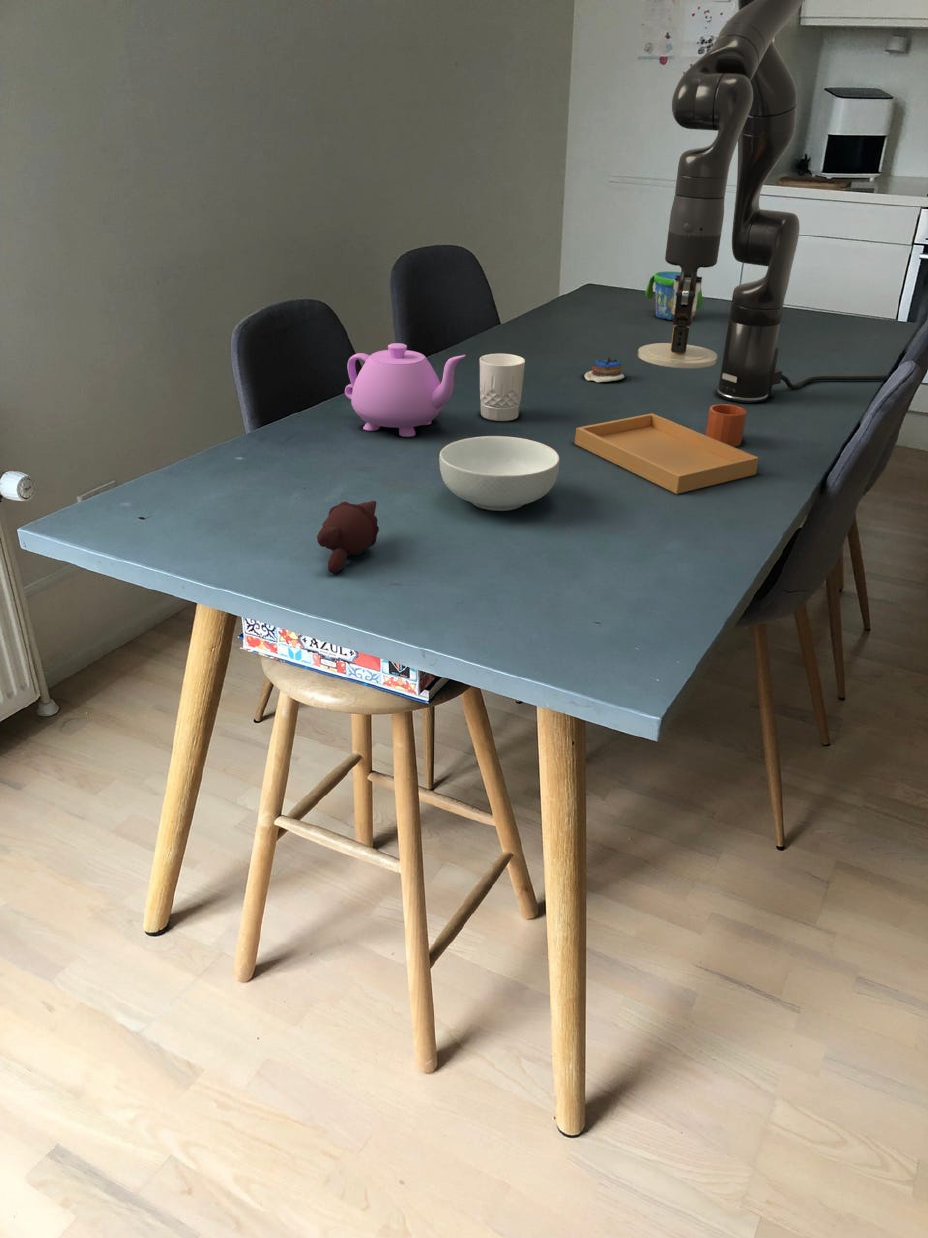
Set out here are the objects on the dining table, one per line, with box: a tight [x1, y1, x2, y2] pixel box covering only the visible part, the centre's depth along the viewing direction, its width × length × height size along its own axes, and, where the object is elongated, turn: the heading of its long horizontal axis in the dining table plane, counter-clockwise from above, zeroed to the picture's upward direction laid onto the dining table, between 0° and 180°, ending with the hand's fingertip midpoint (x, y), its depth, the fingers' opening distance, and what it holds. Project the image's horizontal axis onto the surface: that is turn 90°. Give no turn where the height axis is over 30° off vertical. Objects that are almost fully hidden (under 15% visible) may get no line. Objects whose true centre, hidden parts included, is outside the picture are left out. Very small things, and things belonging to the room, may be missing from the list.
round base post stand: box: [637, 308, 719, 369], centre depth 152 cm, size 12×12×7 cm
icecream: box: [316, 500, 380, 574], centre depth 127 cm, size 7×7×15 cm
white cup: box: [479, 353, 526, 422], centre depth 176 cm, size 8×8×10 cm
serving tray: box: [574, 412, 759, 495], centre depth 161 cm, size 17×25×3 cm
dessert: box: [584, 357, 625, 383], centre depth 200 cm, size 8×7×6 cm
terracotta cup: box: [705, 403, 747, 448], centre depth 168 cm, size 6×6×6 cm
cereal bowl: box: [438, 435, 561, 512], centre depth 143 cm, size 17×17×7 cm
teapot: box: [344, 342, 466, 438], centre depth 168 cm, size 22×16×14 cm
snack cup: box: [645, 270, 703, 321], centre depth 246 cm, size 16×10×10 cm
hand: (678, 349), depth 153 cm, fingers closed on round base post stand, 2 cm apart
